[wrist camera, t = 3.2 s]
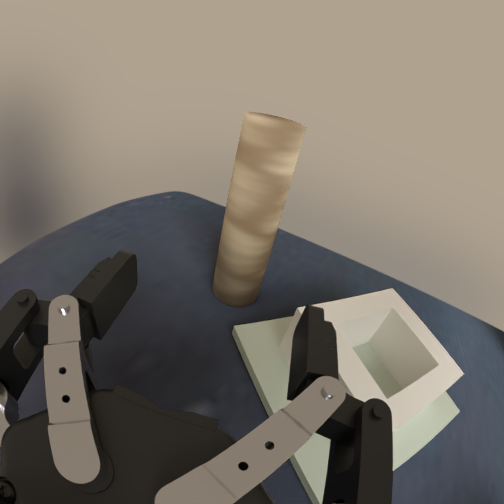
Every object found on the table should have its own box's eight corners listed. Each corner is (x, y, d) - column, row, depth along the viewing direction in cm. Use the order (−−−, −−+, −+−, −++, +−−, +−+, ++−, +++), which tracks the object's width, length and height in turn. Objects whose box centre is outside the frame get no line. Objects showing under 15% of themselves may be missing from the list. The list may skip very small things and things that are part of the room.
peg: (248, 273, 30) (288, 118, 21) (264, 303, 26) (317, 131, 18) (207, 277, 28) (236, 109, 19) (219, 309, 25) (259, 120, 16)
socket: (369, 305, 29) (391, 266, 26) (453, 416, 18) (492, 383, 15) (232, 333, 23) (244, 284, 20) (318, 513, 11) (365, 504, 8)
